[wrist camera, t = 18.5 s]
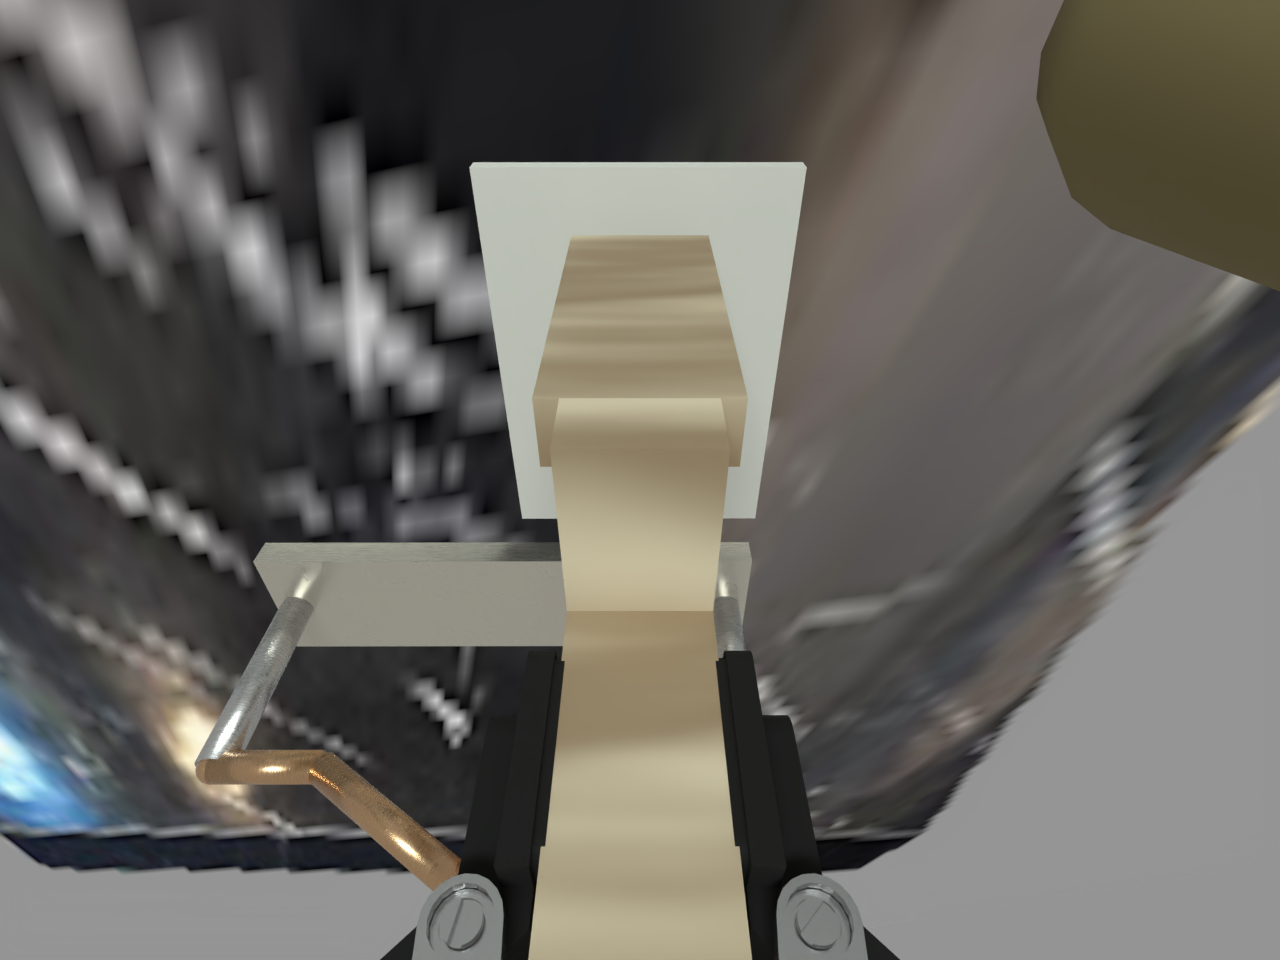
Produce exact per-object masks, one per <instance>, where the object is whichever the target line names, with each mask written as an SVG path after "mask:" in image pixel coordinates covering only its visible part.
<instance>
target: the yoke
mask: <svg viewBox="0 0 1280 960" xmlns="http://www.w3.org/2000/svg"><path fill="white" fill-rule="evenodd" d="M532 402H533V410H534V419H535V427H536V435H537V444H538V452H539V461H540V467H552V474H553V484H554V493H555V503H556V512H557V522H558V531H559V540H560V550H561V559H562V569H563V578H564V588H565V597H566V607H567V615H566V624H565V633H564V642H563V651H562V660H561V661H565V664H564V674H563V683H562V692H561V702H560V711H559V721H558V730H557V740H556V749H555V759H554V768H553V777H552V787H551V796H550V806H549V815H548V825H547V834H546V844H545V847H541V850H540V859H539V868H538V877H537V886H536V895H535V904H534V913H533V922H532V931H531V940H530V949H529V958H528V960H752V955H751V946H750V937H749V928H748V919H747V910H746V901H745V892H744V883H743V874H742V865H741V856H740V847H739V846H735V841H734V832H733V822H732V813H731V803H730V794H729V784H728V775H727V765H726V756H725V746H724V737H723V727H722V718H721V708H720V699H719V690H718V680H717V671H716V661H719V658H718V649H717V641H716V632H715V623H714V614H713V608H714V599H715V589H716V580H717V570H718V561H719V552H720V542H721V533H722V523H723V514H724V504H725V495H726V485H727V476H728V467H740V462H741V453H742V445H743V437H744V428H745V420H746V411H747V403H748V396H747V392H746V388H745V384H744V379H743V375H742V371H741V367H740V363H739V359H738V355H737V351H736V346H735V342H734V338H733V334H732V330H731V326H730V322H729V318H728V314H727V309H726V305H725V301H724V297H723V293H722V289H721V285H720V281H719V276H718V272H717V268H716V264H715V260H714V256H713V252H712V248H711V243H710V239H709V235H571V239H570V243H569V248H568V252H567V256H566V260H565V264H564V268H563V272H562V276H561V281H560V285H559V289H558V293H557V297H556V301H555V305H554V310H553V314H552V318H551V322H550V326H549V330H548V334H547V339H546V343H545V347H544V351H543V355H542V359H541V363H540V367H539V372H538V376H537V380H536V384H535V388H534V392H533V396H532Z"/></svg>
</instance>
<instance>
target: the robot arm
mask: <svg viewBox="0 0 1280 960" xmlns="http://www.w3.org/2000/svg"><path fill="white" fill-rule="evenodd" d="M561 660H562V658H557V652H556V651H529V653H528V656H527V662H526V668H525V674H524V680H523V687H522V693H521V699H520V705H519V712H518V715H492V716H491V718H490V720H489V723H488V726H487V730H486V735H485V740H484V745H483V750H482V755H481V761H480V766H479V771H478V776H477V781H476V786H475V791H474V796H473V801H472V806H471V811H470V816H469V821H468V826H467V832H466V837H465V842H464V847H463V852H462V857H461V862H460V867H459V872H458V875H457V876H454V877H451V878H450V879H448V880H446V881H445V882H443V883H441V884H440V885H439V886H438V887H437V888H436V889H435V890H434V891H433V892H432V893H431V894H430V895H429V897H428V899H427V900H426V902H425V904H424V906H423V907H422V909H421V912H420V916H419V919H418V923H417V926H416V927H415V928H414V929H413V930H412V931H411V932H410V933H409V934H408V935H406V936H405V937H404V938H403V939H402V940H401V941H400V942H399V943H398V944H397V945H396V946H394V947H393V948H392V949H391V950H390V951H389V952H388V953H387V954H386V955H385V956H383V957H382V958H381V959H380V960H528V958H529V949H530V940H531V931H532V922H533V913H534V904H535V895H536V886H537V877H538V868H539V859H540V850H541V847H545V844H546V834H547V825H548V815H549V806H550V796H551V787H552V777H553V768H554V759H555V749H556V740H557V730H558V721H559V711H560V702H561V692H562V683H563V674H564V664H565V661H561ZM716 671H717V680H718V690H719V699H720V708H721V718H722V727H723V737H724V746H725V756H726V765H727V775H728V784H729V794H730V803H731V813H732V822H733V832H734V841H735V846H739V847H740V856H741V865H742V874H743V883H744V892H745V901H746V910H747V919H748V928H749V937H750V946H751V955H752V960H900V959H899V958H898V957H897V956H896V955H895V954H893V953H892V952H891V951H890V950H889V949H888V948H887V947H886V946H885V945H884V944H882V943H881V942H880V941H879V940H878V939H877V938H876V937H875V936H874V935H873V934H872V933H870V932H869V931H868V930H867V929H866V928H865V927H864V926H863V923H862V919H861V916H860V912H859V909H858V907H857V906H856V904H855V902H854V900H853V899H852V897H851V895H850V894H849V893H848V892H847V891H846V890H845V889H844V888H843V887H842V886H841V885H840V884H839V883H837V882H835V881H834V880H832V879H830V878H829V877H826V876H823V875H822V871H821V866H820V861H819V856H818V850H817V845H816V840H815V835H814V830H813V825H812V820H811V815H810V810H809V805H808V800H807V795H806V790H805V784H804V779H803V774H802V769H801V764H800V759H799V754H798V749H797V744H796V739H795V734H794V729H793V725H792V722H791V719H790V717H789V716H788V715H762V710H761V703H760V697H759V691H758V685H757V678H756V672H755V666H754V660H753V655H752V652H751V651H724V653H723V658H719V661H716Z"/></svg>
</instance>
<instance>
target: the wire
mask: <svg viewBox="0 0 1280 960" xmlns="http://www.w3.org/2000/svg"><path fill="white" fill-rule="evenodd" d="M253 562H254V564H255V566H256V568H257V570H258V572H259V574H260V576H261V578H262V580H263V582H264V583H265V585H266V587H267V589H268V591H269V593H270V595H271V597H272V599H273V601H274V603H275V604H276V606H277V608H278V611H277V613H276V615H275V616H274V618H273V620H272V622H271V624H270V626H269V627H268V629H267V631H266V633H265V635H264V636H263V638H262V640H261V642H260V644H259V646H258V647H257V649H256V651H255V653H254V655H253V657H252V658H251V660H250V662H249V664H248V666H247V668H246V669H245V671H244V673H243V675H242V677H241V678H240V680H239V682H238V684H237V686H236V688H235V689H234V691H233V693H232V695H231V697H230V699H229V700H228V702H227V704H226V706H225V708H224V710H223V711H222V713H221V715H220V717H219V719H218V721H217V722H216V724H215V726H214V728H213V730H212V731H211V733H210V735H209V737H208V739H207V741H206V742H205V744H204V746H203V748H202V750H201V752H200V753H199V755H198V757H197V759H196V761H195V763H194V764H195V766H196V770H195V772H196V776H197V778H198V780H199V781H201V782H202V783H204V784H208V785H299V784H312V785H313V786H314V787H315V788H316V789H317V790H318V791H320V792H321V793H322V794H323V795H324V796H325V797H326V798H328V799H329V800H330V801H331V802H332V803H333V804H334V805H335V806H337V807H338V808H339V809H340V810H341V811H342V812H343V813H345V814H346V815H347V816H348V817H349V818H350V819H351V820H352V821H354V822H355V823H356V824H357V825H358V826H359V827H360V828H362V829H363V830H364V831H365V832H366V833H367V834H368V835H369V836H371V837H372V838H373V839H374V840H375V841H376V842H377V843H379V844H380V845H381V846H382V847H383V848H384V849H385V850H386V851H388V852H389V853H390V854H391V855H392V856H393V857H394V858H396V859H397V860H398V861H399V862H400V863H401V864H402V865H403V866H405V867H406V868H407V869H408V870H409V871H410V872H411V873H413V874H414V875H415V876H416V877H417V878H418V879H419V880H420V881H422V882H423V883H424V884H425V885H426V886H427V887H428V888H430V889H431V890H432V891H434V890H435V889H436V888H437V887H438V886H439V885H440V884H441V883H443V882H445V881H446V880H448V879H450V878H451V877H454V876H457V875H458V872H459V867H460V862H461V859H460V858H459V857H458V856H457V855H455V854H454V853H453V852H452V851H451V850H449V849H448V848H447V847H446V846H445V845H443V844H442V843H441V842H440V841H439V840H437V839H436V838H435V837H434V836H433V835H431V834H430V833H429V832H428V831H427V830H425V829H424V828H423V827H422V826H421V825H419V824H418V823H417V822H416V821H415V820H413V819H412V818H411V817H410V816H408V815H407V814H406V813H405V812H404V811H402V810H401V809H400V808H399V807H398V806H396V805H395V804H394V803H393V802H392V801H390V800H389V799H388V798H387V797H386V796H384V795H383V794H382V793H381V792H380V791H378V790H377V789H376V788H375V787H374V786H372V785H371V784H370V783H369V782H368V781H366V780H365V779H364V778H363V777H362V776H360V775H359V774H358V773H357V772H355V771H354V770H353V769H352V768H351V767H349V766H348V765H347V764H346V763H345V762H343V761H342V760H341V759H340V758H339V757H337V756H336V755H335V754H334V753H332V752H326V750H245V749H246V747H247V745H248V743H249V741H250V739H251V737H252V735H253V733H254V731H255V729H256V727H257V725H258V723H259V721H260V719H261V717H262V715H263V713H264V711H265V708H266V706H267V704H268V702H269V700H270V698H271V696H272V694H273V692H274V690H275V688H276V686H277V684H278V682H279V680H280V678H281V676H282V674H283V672H284V670H285V668H286V666H287V664H288V662H289V660H290V658H291V656H292V654H293V652H294V650H295V648H296V646H563V642H564V633H565V624H566V615H567V607H566V597H565V588H564V578H563V569H562V559H561V550H560V542H475V543H265V544H264V546H263V547H262V549H261V550H260V552H259V553H258V555H257V557H256V558H255V560H254V561H253ZM751 565H752V558H751V553H750V547H749V542H720V552H719V561H718V570H717V580H716V589H715V599H714V608H713V614H714V623H715V632H716V641H717V649H718V658H723V653H724V651H746V647H745V641H744V634H743V628H742V624H743V618H744V611H745V605H746V598H747V591H748V585H749V578H750V572H751Z"/></svg>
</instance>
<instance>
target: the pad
mask: <svg viewBox="0 0 1280 960" xmlns="http://www.w3.org/2000/svg"><path fill="white" fill-rule="evenodd" d="M469 168H470V175H471V181H472V188H473V195H474V201H475V208H476V214H477V221H478V228H479V234H480V241H481V248H482V254H483V261H484V268H485V274H486V281H487V288H488V294H489V301H490V308H491V314H492V321H493V327H494V334H495V341H496V347H497V354H498V361H499V367H500V374H501V381H502V387H503V394H504V401H505V407H506V414H507V421H508V427H509V434H510V440H511V447H512V454H513V460H514V467H515V474H516V480H517V487H518V494H519V500H520V507H521V514H522V519H557V512H556V503H555V493H554V484H553V474H552V467H540V461H539V452H538V444H537V435H536V427H535V419H534V410H533V402H532V396H533V392H534V388H535V384H536V380H537V376H538V372H539V367H540V363H541V359H542V355H543V351H544V347H545V343H546V339H547V334H548V330H549V326H550V322H551V318H552V314H553V310H554V305H555V301H556V297H557V293H558V289H559V285H560V281H561V276H562V272H563V268H564V264H565V260H566V256H567V252H568V248H569V243H570V239H571V235H709V239H710V243H711V248H712V252H713V256H714V260H715V264H716V268H717V272H718V276H719V281H720V285H721V289H722V293H723V297H724V301H725V305H726V309H727V314H728V318H729V322H730V326H731V330H732V334H733V338H734V342H735V346H736V351H737V355H738V359H739V363H740V367H741V371H742V375H743V379H744V384H745V388H746V392H747V396H748V403H747V411H746V420H745V428H744V437H743V445H742V453H741V462H740V467H728V476H727V485H726V495H725V504H724V514H723V518H755V516H756V509H757V502H758V496H759V489H760V482H761V475H762V468H763V462H764V455H765V448H766V441H767V434H768V428H769V421H770V414H771V407H772V400H773V394H774V387H775V380H776V373H777V366H778V360H779V353H780V346H781V339H782V332H783V326H784V319H785V312H786V305H787V298H788V292H789V285H790V278H791V271H792V264H793V258H794V251H795V244H796V237H797V230H798V224H799V217H800V210H801V203H802V196H803V190H804V183H805V176H806V169H807V167H806V166H805V164H804V163H803V162H473V163H472V165H471V166H470V167H469Z"/></svg>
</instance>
